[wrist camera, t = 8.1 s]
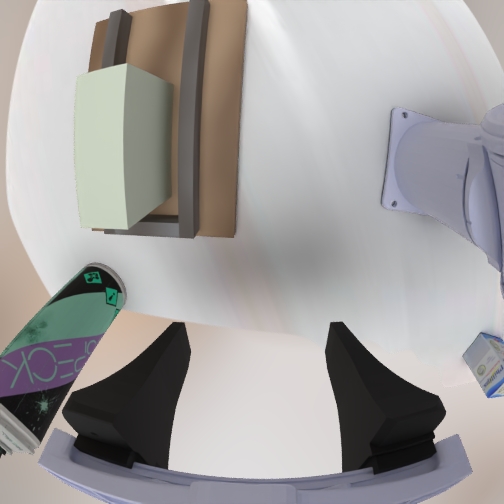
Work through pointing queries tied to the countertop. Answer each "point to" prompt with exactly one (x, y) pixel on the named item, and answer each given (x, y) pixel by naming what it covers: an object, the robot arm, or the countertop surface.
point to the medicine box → (487, 364)
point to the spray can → (54, 355)
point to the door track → (188, 105)
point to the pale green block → (121, 145)
